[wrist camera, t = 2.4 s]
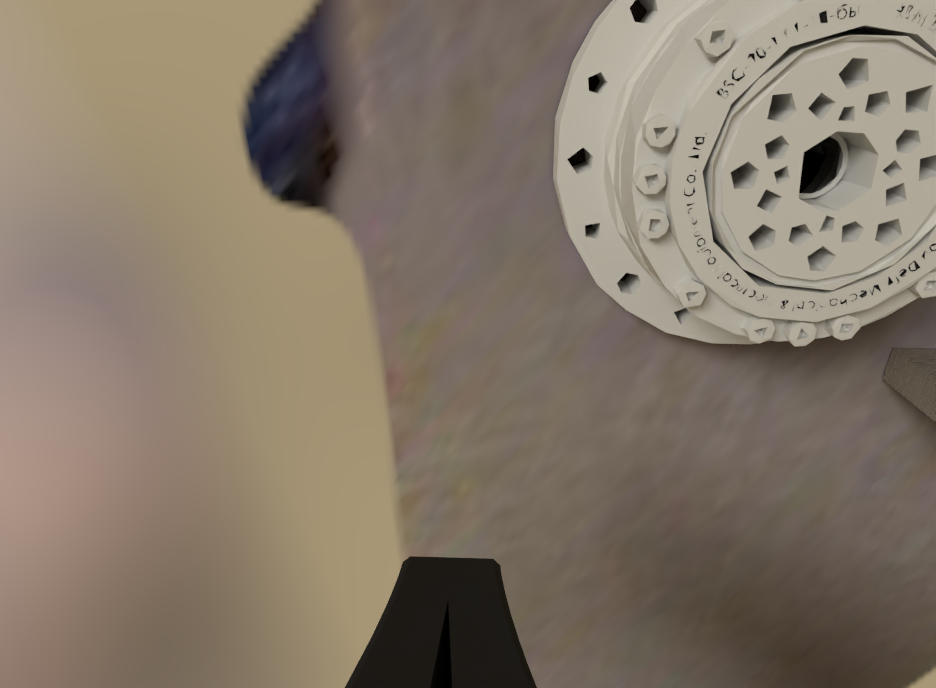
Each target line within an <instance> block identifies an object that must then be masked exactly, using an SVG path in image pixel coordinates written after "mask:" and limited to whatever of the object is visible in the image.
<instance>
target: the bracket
mask: <svg viewBox="0 0 936 688" xmlns="http://www.w3.org/2000/svg"><path fill="white" fill-rule="evenodd" d="M882 380H884V381H885V382H886V383H887V384H889V385H890V386H891V387H892V388H894V389H895V390H896V391H897V392H899V393H900V394H901V395H902V396H904V397H905V398H906V399H907V400H909V401H910V402H911V403H912V404H914V405H915V406H916V407H917V408H919V409H920V410H921V411H922V412H924V413H925V414H926V415H927V416H929V417H930V418H931V419H932V420H934V421H935V422H936V350H928V349H892V352H891V355H890V358H889V361H888V364H887V367H886V370H885V373H884V376H883V379H882Z"/></svg>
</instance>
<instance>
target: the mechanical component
mask: <svg viewBox="0 0 936 688" xmlns="http://www.w3.org/2000/svg"><path fill="white" fill-rule="evenodd" d="M639 1H640V3H641V4H642V5H643V7H644V8H645V9H646V10H647V12H646V14H645V15H644V17H643V18H642V20H641V21H640V22H635V21H634V18H633V16H632V13H631V10H630V7H631V6H632V4H633V3H634V2H635V0H613V1H612V2H611V3H610V4H609V5H608V6H607V8H606V9H605V10H604V11H603V12H602V14H601V15H600V16H599V17H598V18H597V20H596V21H595V22H594V24H593V26H592V28H591V29H590V31H589V33H588V35H587V37H586V38H585V40H584V42H583V44H582V46H581V48H580V49H579V51H578V53H577V55H576V57H575V58H574V60H573V62H572V66H571V69H570V72H569V75H568V78H567V82H566V85H565V88H564V91H563V94H562V98H561V101H560V104H559V107H558V110H557V114H556V117H555V137H554V166H553V181H554V185H555V189H556V193H557V197H558V201H559V204H560V208H561V212H562V216H563V220H564V224H565V228H566V230H567V232H568V234H569V236H570V237H571V239H572V241H573V243H574V245H575V246H576V248H577V250H578V252H579V253H580V255H581V257H582V259H583V260H584V262H585V264H586V266H587V268H588V269H589V271H590V273H591V275H592V276H593V278H594V280H595V282H596V283H597V285H598V286H600V287H601V288H602V289H603V290H604V291H605V292H606V293H607V294H609V295H610V296H611V297H612V298H613V299H614V300H615V301H617V302H618V303H619V304H620V305H621V306H622V307H623V308H624V309H626V310H627V311H629V312H630V313H632V314H634V315H636V316H638V317H639V318H641V319H643V320H645V321H646V322H648V323H650V324H652V325H653V326H655V327H657V328H659V329H660V330H662V331H664V332H666V333H669V334H674V335H678V336H682V337H686V338H691V339H695V340H699V341H704V342H708V343H717V344H755V343H759V344H760V343H762V342H766V341H777V342H780V341H789V342H790V343H791V344H792V345H793V346H806V345H808V344H809V343H810V342H812V341H813V340H814V339H815V338H825V337H829V336H834V337H835V338H837V339H840V340H846V339H851V338H852V337H853V336H854V335H855V333H856V332H857V331H858V330H859V329H860V328H861V327H862V326H864V325H866V324H869V323H871V322H874V321H876V320H879V319H881V318H883V317H886V316H888V315H890V314H891V313H893V312H895V311H896V310H898V309H900V308H902V307H903V306H905V305H907V304H908V303H910V302H912V301H914V300H915V299H917V298H919V297H921V298H927V297H932V296H936V0H639ZM594 75H597V77H598V78H599V80H600V82H599V84H598V85H597V87H596V89H595V90H594V91H589V85H588V78H589V77H591V76H594ZM829 136H830V138H828V137H829ZM582 148H584V151H585V161H586V162H583V163H580V164H577V165H575V166H571V164H570V163H569V161H568V160H567V159H568V158H570V157H571V156H572V155H574V154H575V153H576V152H578V151H579V150H580V149H582ZM807 150H811V151H814V152H817V153H820V154H823V155H824V154H825V153H827V154H826V157H825V159H824V161H823V163H822V165H821V167H820V169H819V171H818V173H817V175H816V176H815V178H814V179H813V181H812V182H811V183H810V184H809V185H808V186H807V187H806V189H805V190H804V191H803V192H802V193H799V190H800V181H801V172H802V165H803V159H804V154H805V151H807ZM590 224H593V225H592V227H590V228H585V225H590ZM717 245H718V246H719V247H718V246H717ZM626 273H630V274H629V275H628V276H627V278H626V279H625V280H624V281H621V280H620V279H621V278H622V277H623V276H624V275H625V274H626Z"/></svg>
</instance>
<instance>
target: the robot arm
mask: <svg viewBox="0 0 936 688" xmlns="http://www.w3.org/2000/svg"><path fill="white" fill-rule="evenodd" d="M345 688H537V687H536V685H535V682H534V679H533V677H532V674H531V672H530V669H529V667H528V664H527V662H526V659H525V656H524V653H523V650H522V647H521V645H520V642H519V639H518V636H517V632H516V629H515V626H514V623H513V620H512V617H511V613H510V610H509V606H508V603H507V599H506V595H505V590H504V586H503V581H502V576H501V568H500V565H499V564H498V563H497V562H496V561H495V560H494V559H478V558H445V557H411V556H410V557H409V558H408V559H407V560H405V561H404V562H403V564H402V567H401V570H400V573H399V576H398V579H397V582H396V584H395V587H394V589H393V591H392V594H391V596H390V599H389V601H388V604H387V606H386V608H385V610H384V612H383V614H382V616H381V619H380V621H379V623H378V625H377V627H376V629H375V631H374V633H373V635H372V637H371V640H370V641H369V643H368V645H367V647H366V649H365V651H364V653H363V655H362V656H361V659H360V660H359V662H358V664H357V666H356V668H355V670H354V672H353V674H352V675H351V677H350V679H349V681H348V683H347V685H346V687H345Z"/></svg>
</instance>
